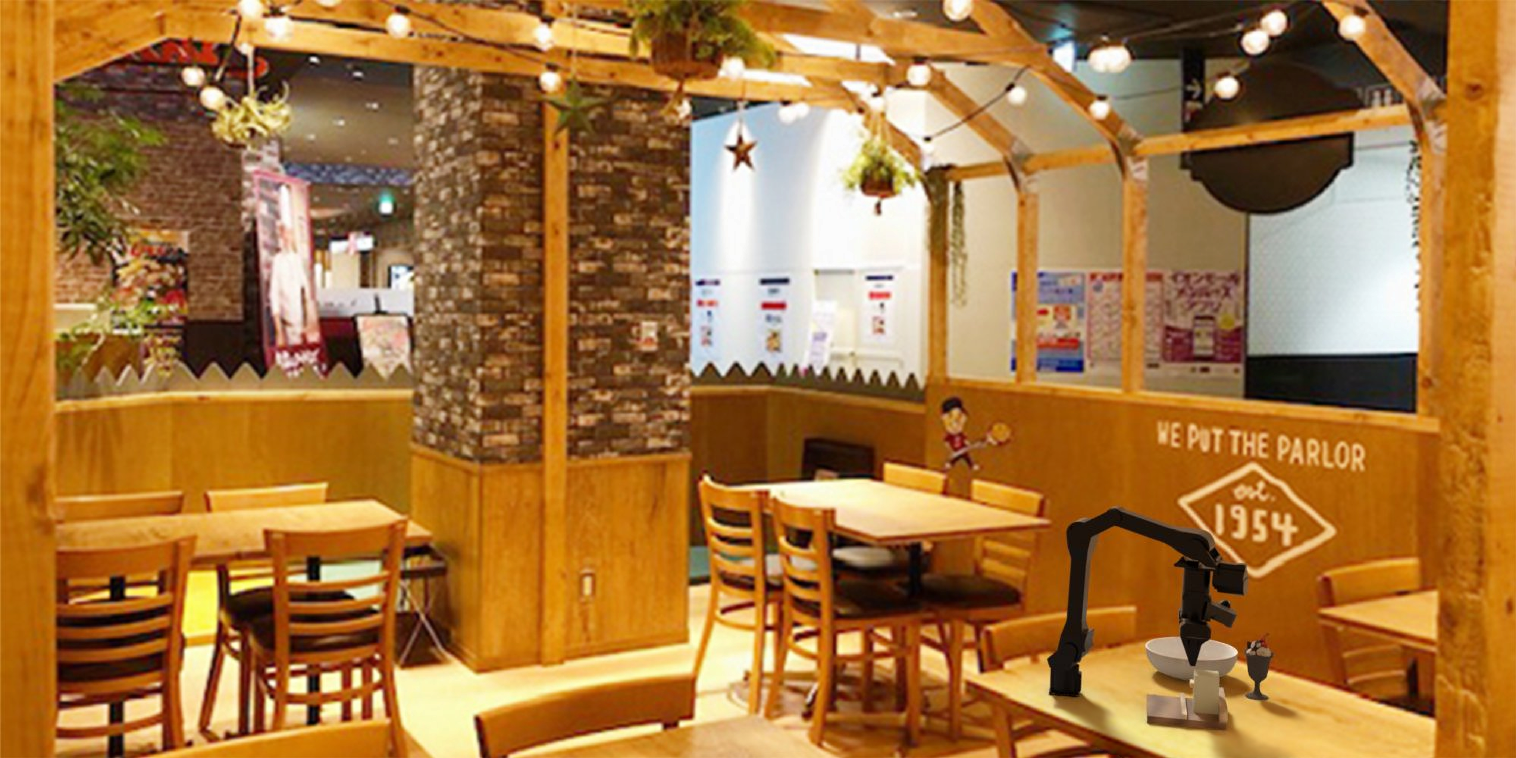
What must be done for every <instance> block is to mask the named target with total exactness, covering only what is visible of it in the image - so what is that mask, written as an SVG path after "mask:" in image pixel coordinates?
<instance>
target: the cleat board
mask: <svg viewBox="0 0 1516 758" xmlns="http://www.w3.org/2000/svg"><path fill="white" fill-rule="evenodd" d="M1228 708H1229V707H1228V704H1227V700H1226V695H1225V690H1224V687H1222V686H1221V687H1220V686H1219V704H1218V715H1216V714H1205V713H1195V712H1193V697H1186V693H1184V692H1179V696H1170V695H1160V694H1148V693H1147V694H1146V723H1147V724H1157V725H1167V726H1175V727H1176V726H1178V727H1189V728H1199V729H1211V730H1217V731H1219V730H1220V731H1221V730H1222V731H1227V730H1228V715H1229V713H1228V711H1229V710H1228Z"/></svg>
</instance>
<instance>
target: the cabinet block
mask: <svg viewBox="0 0 1516 758" xmlns="http://www.w3.org/2000/svg"><path fill="white" fill-rule="evenodd" d="M1219 687H1220V677H1219V673H1218V671H1209V670H1197V669H1194V679H1190V681H1189V688H1190V689H1192V698H1193V712H1195V713H1205V714H1216V715H1218V704H1219Z"/></svg>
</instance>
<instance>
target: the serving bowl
mask: <svg viewBox="0 0 1516 758" xmlns="http://www.w3.org/2000/svg"><path fill="white" fill-rule="evenodd" d="M1144 647H1145V654H1146V657H1147V660H1148V662H1149V663H1150V664H1151V666H1153V668H1154V669H1156V670H1157V671H1158V672H1160V673H1162V674H1163V675H1166V676H1169V677H1172V678H1175V679H1178V680H1181V681H1187V680H1188V682H1190V679H1194V669H1197V670H1209V671H1218V673H1219V678H1221V677H1224V676H1226V675H1227V674H1229V673H1230V672H1231V671H1232V670H1233V668H1234V667H1235V665H1236V664H1237V661H1238V656H1239V652H1238V650H1237V649H1236V648H1235V647H1234V646H1231V645H1230V644H1227V643H1223V642H1220V641H1217V640H1214V639H1210V640H1209V641H1206V642H1205V643H1204V644H1202V646H1201V649H1200V652H1199V656H1198V659H1197V662H1196V666H1190V664H1189V661H1188V658H1187V655H1186V652H1185V649H1184V646H1183V644H1182V641H1181V638H1180V636H1170V637H1169V636H1168V637H1159V638H1158V637H1157V638H1154V639H1151V640H1149V641H1147V642H1146V643H1145V645H1144Z"/></svg>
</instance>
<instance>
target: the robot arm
mask: <svg viewBox="0 0 1516 758" xmlns="http://www.w3.org/2000/svg"><path fill="white" fill-rule="evenodd" d="M1113 527H1118V528H1120V529H1123V530H1126V531H1129V532H1131V533H1135V534H1138V535H1139V536H1140V535H1141V536H1142V537H1146V538H1148V539H1152V540H1155V541H1157V542H1160V543H1162V544H1163V543H1164V544H1165V545H1167V546H1169V547H1171V548H1172V549H1173V550H1175V551H1176V553H1179V554H1181V556H1180V558H1179V559H1178V560H1177V561H1176V562H1175V563H1173V567H1175V568H1181V569H1182V589H1181V602H1180V603H1181V605H1180V606H1179V607H1178V612H1177V613H1178V614H1177V616H1178V624H1179V637H1180V638H1181V641H1182V644H1183V646H1184V649H1185V652H1186V655H1187V658H1188V661H1189V664H1190V666H1196V662H1197V659H1198V656H1199V652H1200V649H1201V646H1202V644H1204V643H1205V642H1206V641H1209V640H1212V638H1211V637H1212V626H1211V625H1210V624H1209V623H1208V622H1211V619H1212V620H1213V621H1215V622H1218V623H1220V624H1221V625H1224V626H1225V627H1226V628H1228V629H1232V627H1233V625H1234V623H1235V621H1236V618H1237V616H1238V614H1237V611H1236V610H1235V609H1234V608H1231V602H1230V600H1227V599H1224V598H1223V599H1222V600H1220V601H1219V602H1218V601H1215V600H1214V601H1213V600H1212V594H1211V585H1212V588H1213V589H1214V590H1216V592H1217V593H1220V594H1226V595H1227V594H1228V595H1235V596H1242V597H1246V596H1247V593H1248V590H1249V589H1248V588H1249V583H1250V577H1249V572H1248V569H1247V568H1248V564H1247V563H1246V562H1245V563H1244V562H1229V561H1225V560H1224V558H1223V556H1222V555H1221V553H1220V551H1219V550H1218V549H1217V547H1216V546H1215V545H1216V542H1215V538H1214V537H1213V535H1212V534H1211V532H1209V531H1207V530H1206V529H1199V528H1194V527H1183V526H1177V525H1176V526H1175V525H1172V524H1169V523H1167V522H1164V521H1160V520H1158V519H1155V518H1151V517H1149V516H1147V515H1143V514H1140V513H1137V512H1134V511H1132V510H1129V509H1126V508H1124V507H1123V506H1120V505H1115V506H1113V507H1110V508H1109V509H1107V510H1106V511H1105V512H1103V513H1101V514H1099V515H1097V516H1095V517H1093V518H1090V517H1082V518H1079V519H1077V520H1075V521H1073V522H1072V523H1070V524H1069V525H1068V526H1067V528H1066V532H1065V535H1066V537H1065V538H1066V546H1067V550H1068V554H1069V557H1070V567H1069V580H1068V594H1067V595H1068V596H1067V607H1066V621H1065V623H1064V625H1063V628H1062V631H1061V634H1060V635H1059V636H1060V637H1059V641H1058V645H1057V650H1056V651H1055V652H1053V653H1052V654H1051V655H1050V656H1048V657H1047V659H1046V660H1047V664H1048V667H1049V668H1050V669H1049V670H1050V672H1049V675H1050V676H1049V689H1048V695H1057V696H1059V695H1060V696H1068V697H1079V693H1081V692H1082V681H1083V680H1082V678H1083V677H1082V676H1083V671H1080V664H1079V663H1081V661H1082V659H1083V658H1084V657H1085V656H1086V655H1088V654H1089V653H1090V651H1091V649H1092V648H1094V645H1095V644H1094V634H1095V629H1094V628H1089V625H1088V622H1087V621H1088V620H1087V614H1088V604H1089V603H1088V600H1089V586H1090V576H1091V562H1092V558H1093V555H1094V553H1095V550H1096V547H1097V544H1098V541H1099V538H1100V537H1099V536H1100V534H1101V533H1103V532H1105V531H1107V530H1109V529H1111V528H1113Z"/></svg>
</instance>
